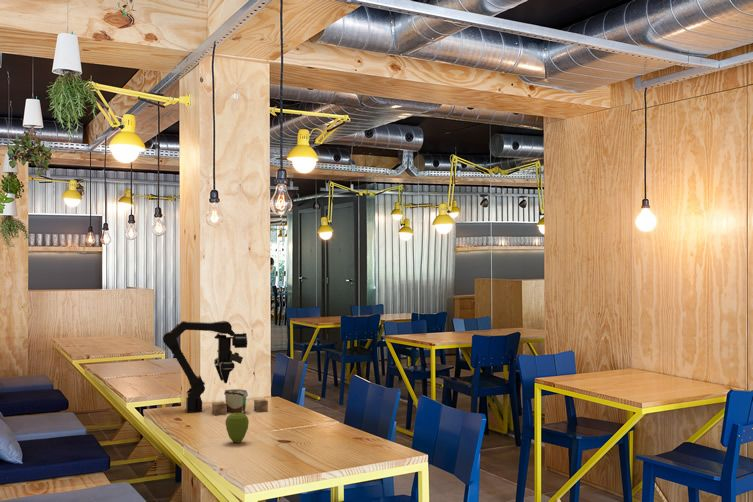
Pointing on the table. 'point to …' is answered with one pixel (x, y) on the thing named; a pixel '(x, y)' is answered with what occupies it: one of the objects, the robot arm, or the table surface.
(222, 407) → the dotted block left
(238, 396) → the food container
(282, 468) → the table surface
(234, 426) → the green tapered egg
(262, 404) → the dotted block right
